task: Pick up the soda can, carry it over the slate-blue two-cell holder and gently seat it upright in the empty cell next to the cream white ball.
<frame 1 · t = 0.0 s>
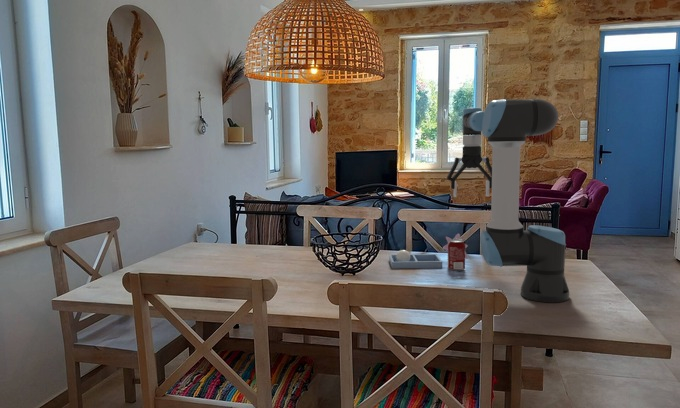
hand: (471, 196, 221), 28 cm above the table, fingers open, 13 cm apart
holder: (415, 265, 220), on the table
lily: (455, 257, 233), on the table
soda can: (456, 270, 211), on the table
cream white ball: (403, 264, 220), resting on holder
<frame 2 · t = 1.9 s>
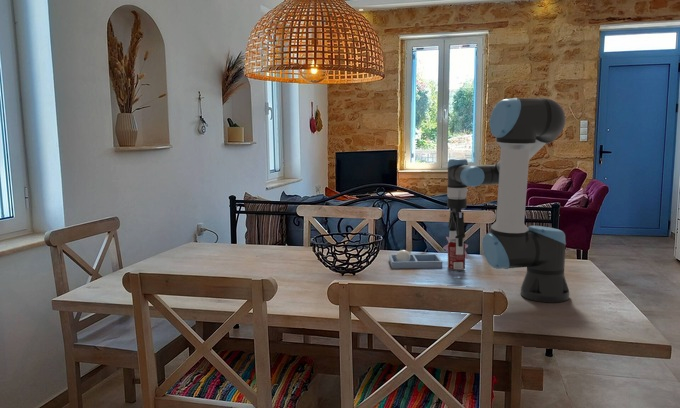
hand: (456, 250, 211), 8 cm above the table, fingers open, 13 cm apart
nothing on the table moved.
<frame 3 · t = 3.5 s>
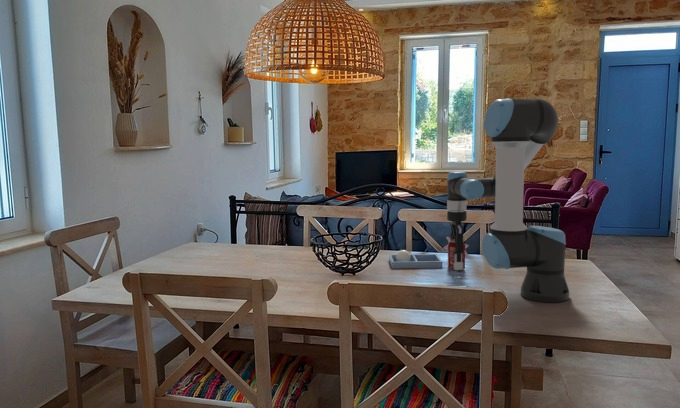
hand: (456, 267, 211), 1 cm above the table, fingers closed on soda can, 7 cm apart
soda can: (456, 270, 211), on the table, touching gripper
everything else where it was.
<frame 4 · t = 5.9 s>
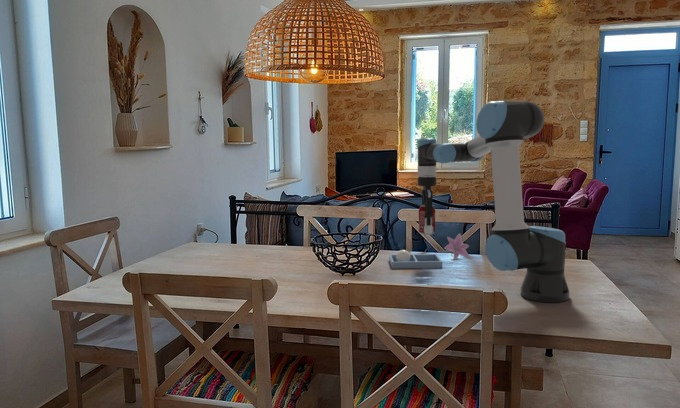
hand: (426, 231, 218), 14 cm above the table, fingers closed on soda can, 7 cm apart
soda can: (426, 234, 218), point 13 cm above the table, touching gripper
everything else where it was.
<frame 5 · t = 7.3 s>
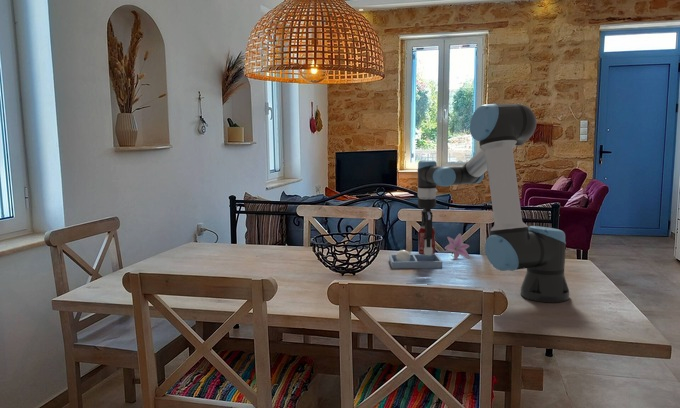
hand: (426, 252, 219), 5 cm above the table, fingers closed on soda can, 7 cm apart
soda can: (426, 255, 219), point 4 cm above the table, touching gripper
everything else where it was.
when the fingers open (3 cm above the table, at t = 8.5 s): soda can drops 2 cm, resting on holder.
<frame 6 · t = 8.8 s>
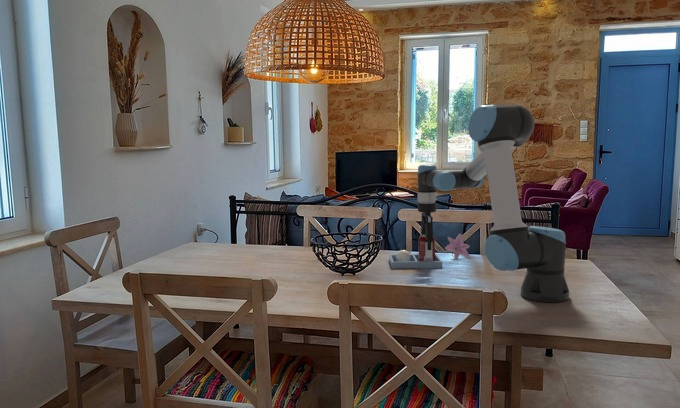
hand: (426, 254, 219), 4 cm above the table, fingers open, 11 cm apart
soda can: (426, 264, 220), resting on holder
everything else where it was.
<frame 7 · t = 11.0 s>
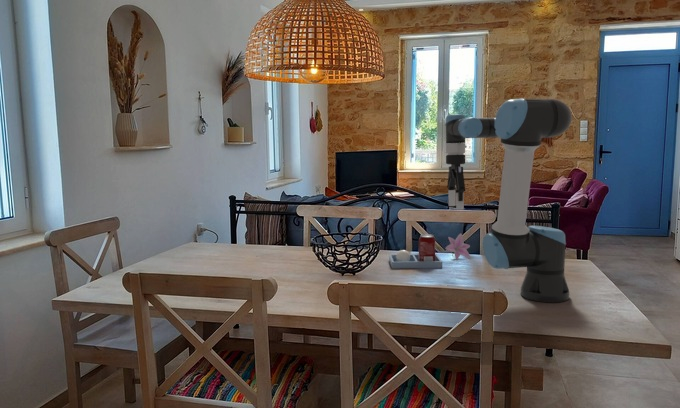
hand: (455, 207, 209), 25 cm above the table, fingers open, 13 cm apart
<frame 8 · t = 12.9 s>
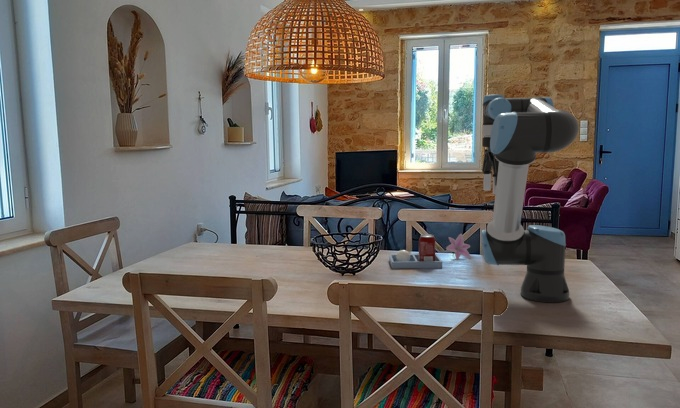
hand: (491, 192, 201), 32 cm above the table, fingers open, 13 cm apart
at the end: soda can inside the target area on the holder (0.1 cm from its centre), point 0.3 cm above the holder's base; soda can tilted 0°; the gripper is holding nothing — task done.
